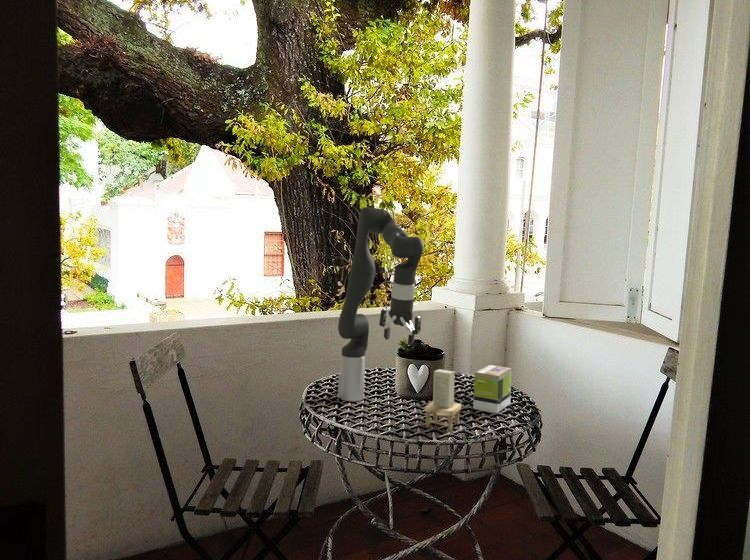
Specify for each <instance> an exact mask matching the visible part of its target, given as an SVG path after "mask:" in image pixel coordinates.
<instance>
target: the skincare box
mask: <svg viewBox="0 0 750 560" xmlns="http://www.w3.org/2000/svg"><path fill="white" fill-rule="evenodd" d="M455 375H456V374H455V371H454V370H446V369H440V368H439V369H436V370H434V371H433V388H432V389H433V391H432V393H433V394H432V401H433V405H435V406H440V407H445V408H450V407H452V406H453V405H454V403H455V378H456V377H455Z"/></svg>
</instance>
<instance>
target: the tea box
mask: <svg viewBox="0 0 750 560" xmlns="http://www.w3.org/2000/svg"><path fill="white" fill-rule="evenodd" d="M512 371H513V370H512V367H505V366H500V365H491V364H488V365H486V366H484V367H482V368H480V369H478V370H476V371H475V372H474V379H473V381H474V382H473V383H474V384H473V402H472V403H473V407H472V408H473V410H478V411H482V412H483V411H484V412H487V413H492V414H498V413H500V412H501V411H502V410H504V409H505V408H506V407H508V406H510V405H511V399H512V398H511V397H512V396H511V393H512V392H511V391H512Z"/></svg>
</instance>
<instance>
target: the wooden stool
mask: <svg viewBox="0 0 750 560" xmlns="http://www.w3.org/2000/svg"><path fill="white" fill-rule="evenodd" d="M461 409H462V403H457V402H454V405H453V406H452V407H450V408H445V407H440V406H435V405H433V400H432V401H431V402H429V403H428V404H427V405H426V406H424V412H425V424H424V425H425V428H429V427H431V424H434V425H441V426H445V427H447V431H449V432H452V431H453V423H454V424H455V423H456V424H455V425H459V424H458V423H460V411H461ZM431 413H433V414H432V419H431ZM439 417H440V418H445V419H447V422H446V421H440V420H438V418H439ZM453 420H454V422H453Z"/></svg>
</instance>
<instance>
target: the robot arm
mask: <svg viewBox="0 0 750 560" xmlns="http://www.w3.org/2000/svg"><path fill="white" fill-rule="evenodd" d="M356 230H357V231H356V239H355V247H354V252H353V256H352V261H351V262H352V263H351V267H350V272H349V277H348V284H347V289H346V293H345V299H344V302H343V305H342V308H341V312H340V315H339V319H338V323H337V324H338V325H337V329H338V334H339V336H340V337H341V338H342V339H344V340H345V339H346V340H349V339H350V340H349V342H348V343H347V344H345V345H344V346H343V347H341V359H340V361H341V362H340V363H341V364H340V373H339V374H338V381H337V382H338V383H337V384H338V385H337V398H338V399H340V398H341V399H340V400H342V401H345V402H360V401H362V400H364V394H365V392H364V391H365V367H366V351H367V349H368V344H369V334H370V333H369V332H370V322H369V319H368V317H367V316H366V315H365V314H364V313H358V310H359V307H360V305H361V303H362V301H363V300H364V298H365V297H366V296H367V294H368V293H369V292H370V291H371V289H372V287H373V283H374V279H375V275H376V264H375V261H374V259H373V255H372V254H371V252H370V249H369V245H368V243H369V242H368V236H369V234H377V235H379V234H381V235H382V238H383V241H384V242H385V243H386V244H387V245H388V246H389V247H390V252H391V254H392V256H393V257H394V258H397V259H406V260H407V261H405V262H403V263H399V264H397V265H395V267H394V270H393V271H394V273H393V280H392V281H393V282H392V286H391V295H390V296H391V297H390V308H389V309H388V308H387V307H385V308H383V309H381V310H380V316H379V322H378V323H379V324H378V325H379V326H380V327H383V328H384V329H383V330H384V331H383V338H384V339H385V340H387V341H388V340H389V339H390V334H391V328H390V327H391V326H392V325H396V326H400V327H404V328H405V330H406V331H407V332H408V336H407V337H408V338H407V345H408V346H411V345H412V344H414V342H415V335H418V334H420V333H421V328H422V325H421V324H422V316H421V315H420V314H419V315H413V310H414V309H413V308H414V301H415V290H416V289H415V281H416V273H417V269H418V266H419V263H420V261H421V258H422V256H423V253H424V242H423V240H422V239H421V238H420V237H419V236H409V235H408V234H407V232H406V231H405V230H403V228H401V227H400V226H398V225H397V223H396V221H395V219H394V218H393V217H392V215H391V213H389V211H388V210H386V209H383V208H377V207H370V206H368V207H367V206H364V207H362V209H361V211H360V213H359V216H358V222H357V228H356ZM388 315H389V317H390V319H389V320H388V321H387V317H388ZM412 321H413V322H412ZM413 323H414V325H413Z"/></svg>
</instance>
